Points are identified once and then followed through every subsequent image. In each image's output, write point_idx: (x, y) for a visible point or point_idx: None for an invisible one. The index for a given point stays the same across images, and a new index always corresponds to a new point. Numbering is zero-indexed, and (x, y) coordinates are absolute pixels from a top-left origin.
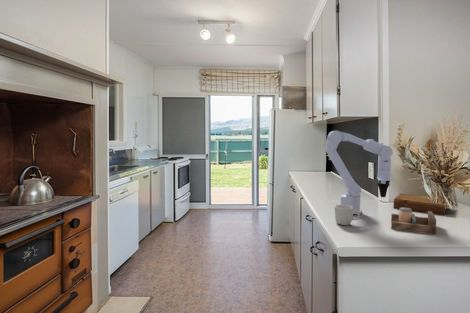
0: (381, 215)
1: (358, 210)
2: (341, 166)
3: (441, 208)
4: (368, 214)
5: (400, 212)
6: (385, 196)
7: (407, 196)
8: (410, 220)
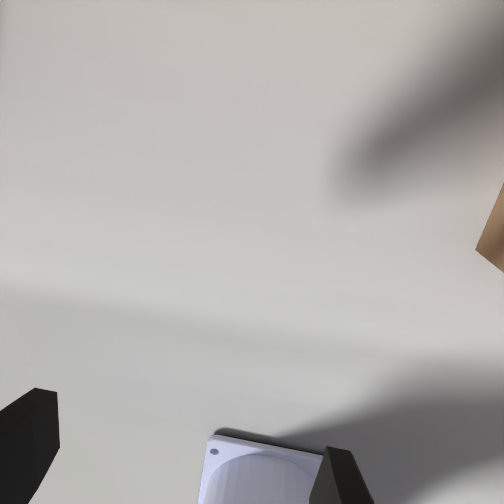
0: (307, 304)
1: (304, 487)
2: None
3: None
4: (300, 397)
5: None
6: (355, 462)
7: None
8: None
